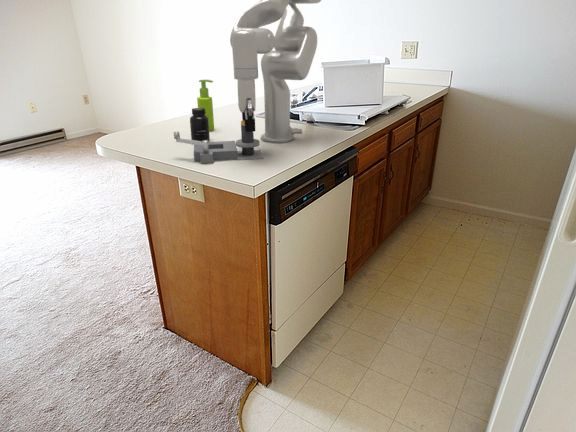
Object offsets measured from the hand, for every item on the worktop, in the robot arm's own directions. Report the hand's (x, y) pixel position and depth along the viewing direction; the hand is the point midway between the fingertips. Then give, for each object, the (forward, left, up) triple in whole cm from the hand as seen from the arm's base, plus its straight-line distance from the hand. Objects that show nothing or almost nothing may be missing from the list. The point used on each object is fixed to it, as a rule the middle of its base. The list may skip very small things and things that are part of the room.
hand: (248, 127), depth 137 cm
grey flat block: (+11, 0, -9) cm, 15 cm away
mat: (0, +1, -9) cm, 9 cm away
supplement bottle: (+16, -20, -10) cm, 28 cm away
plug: (+1, +1, -9) cm, 9 cm away
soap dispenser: (+13, -36, -10) cm, 40 cm away
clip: (+19, +3, -6) cm, 20 cm away
